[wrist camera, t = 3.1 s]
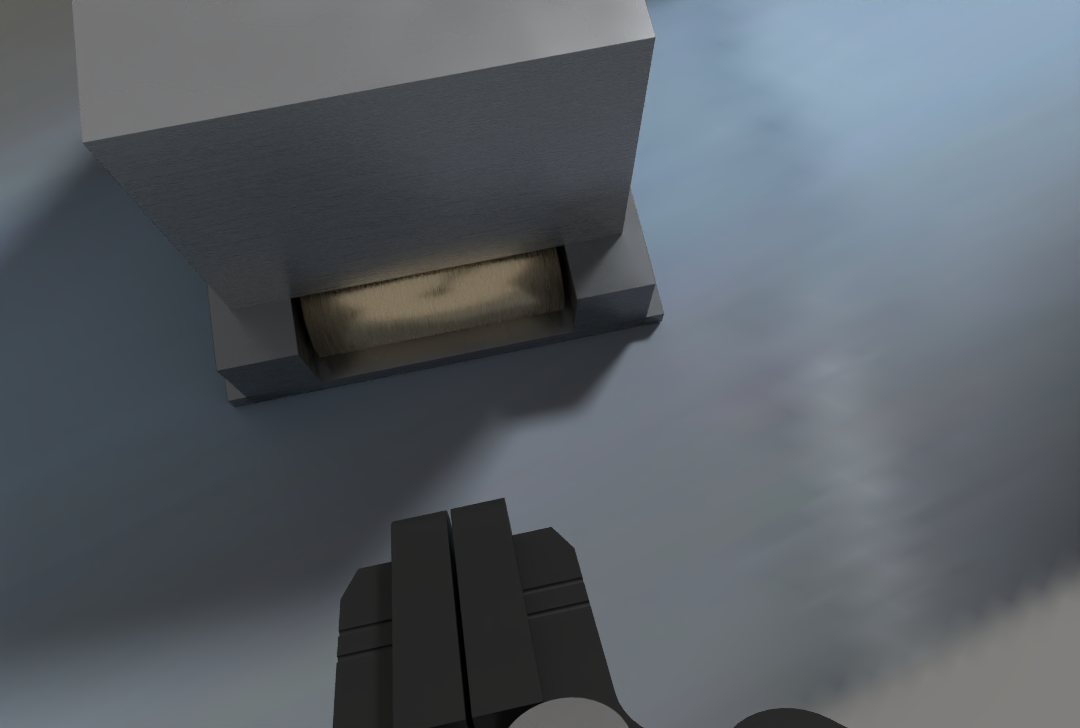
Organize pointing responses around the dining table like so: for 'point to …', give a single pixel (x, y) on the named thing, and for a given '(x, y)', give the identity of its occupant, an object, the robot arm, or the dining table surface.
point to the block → (363, 130)
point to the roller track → (435, 317)
